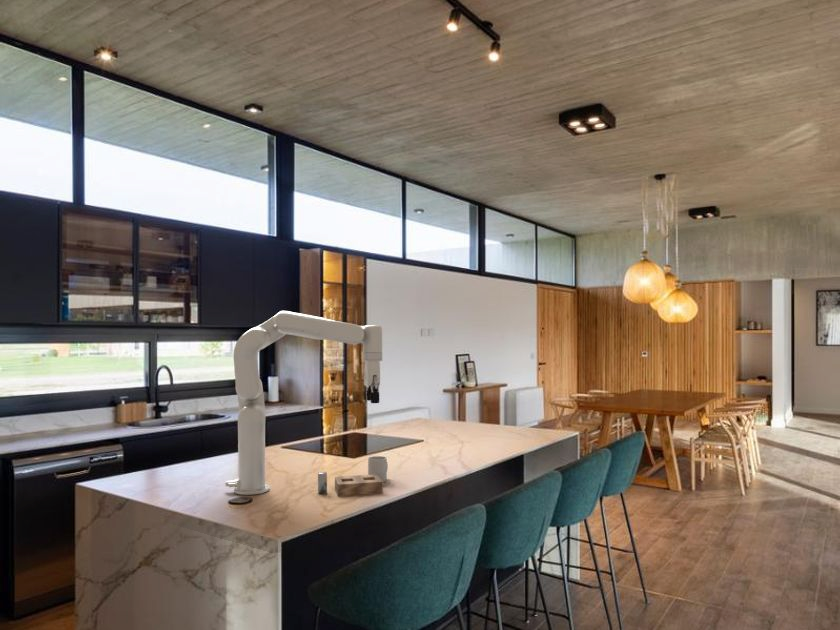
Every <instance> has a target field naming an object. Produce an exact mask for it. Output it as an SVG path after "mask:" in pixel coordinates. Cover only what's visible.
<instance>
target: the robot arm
mask: <svg viewBox="0 0 840 630" xmlns="http://www.w3.org/2000/svg"><path fill="white" fill-rule="evenodd" d="M286 335H289V336H296V337H301V338H302V337H303V338H308V339H312V340H322V341H326V340H327V341H332V342H337V343H338V342H339V343H342V344H343V343H344V344H349V345H358V344H362V362H364V370H363V371H364V372H363V373H364V374H363V380H364V381H363V385H364V386H365V387H366V401H370V403H371V404H380V386H381V363H380V362H383V328H382V326H381V325H378V324H369V325H368V324H366V325H359V324H355V323H349V322H346V321H345V322H343V321H337V320H333V319H328V318H325V317H321V316H315V315H311V314H305V313H301V312H300V313H299V312H293V311H289V310H280V311H279V312H277V313H276V314H275V315H274V316H272V317H271V318H269V319H268V320H266V321H264V322H263V323H261V324H259V325H257V326H255V327H252V328H250V329H249V330H247V331H246V332H244V333H243V334H242V335H241V336H240V337H239V338H238V340H237V342H236V343H235V346H234V349H233V367H234V369H233V370H234V379H235V393H236V395H237V401H238V408H239V413H238V416H237V441H238V442H237V443H238V444H237V448H238V449H237V453H238V454H237V455H238V463H237V465H238V466H237V467H238V470H237V471H238V472H237V474H238V475H237V476H238V477H237V479H234V480H225V487H228V488H233V487H234V488H233V493H234V494H236V495H241V496H250V495H251V496H253V495H259V494H261V495H262V494H265V493H266V492H268V491H270V490H271V489H270V485H269V484H266V414H267V413H266V405H265V397H264V389H263V382H262V380H261V378H260V372H259V361H258V354H259V353H260V351H261V350H264V349H265V348H266V347H268V346H270V345H271V344H273V343H275V342H277V341H278V340H280V339H281V338H283V337H285V336H286Z"/></svg>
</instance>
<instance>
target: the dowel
mask: <svg viewBox="0 0 840 630" xmlns="http://www.w3.org/2000/svg"><path fill="white" fill-rule="evenodd" d="M317 493H318V495H323V494H325V495H326V494H327V493H328V473H327V472H325V471H322V472H318V473H317Z"/></svg>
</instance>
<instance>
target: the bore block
mask: <svg viewBox="0 0 840 630" xmlns="http://www.w3.org/2000/svg"><path fill="white" fill-rule="evenodd" d="M383 485H384V484H383V482H382V480H381V479H380V477H379V476H378V475H377V474H375V475H368V474H362V475H361V474H360V475H345V476H342V475H341V476H334V490H335V492H336V495H337V496H338V497H342V496H343V497H344V496H356V495H358V496H359V495H371V494H372V495H373V494H383V492H384V491H383V490H384V488H383V487H384V486H383Z"/></svg>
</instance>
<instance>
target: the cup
mask: <svg viewBox="0 0 840 630" xmlns="http://www.w3.org/2000/svg"><path fill="white" fill-rule="evenodd" d="M387 459H388V458H387V457H386V456H381V455H380V456H379V455H375V456H370V457H368V458H367V475H375V474H377V475H378V476H379V477H380V479H381V480H382V482H383V483H386V482H387V479H388V477H387V475H388V474H387V473H388V461H387Z"/></svg>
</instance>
